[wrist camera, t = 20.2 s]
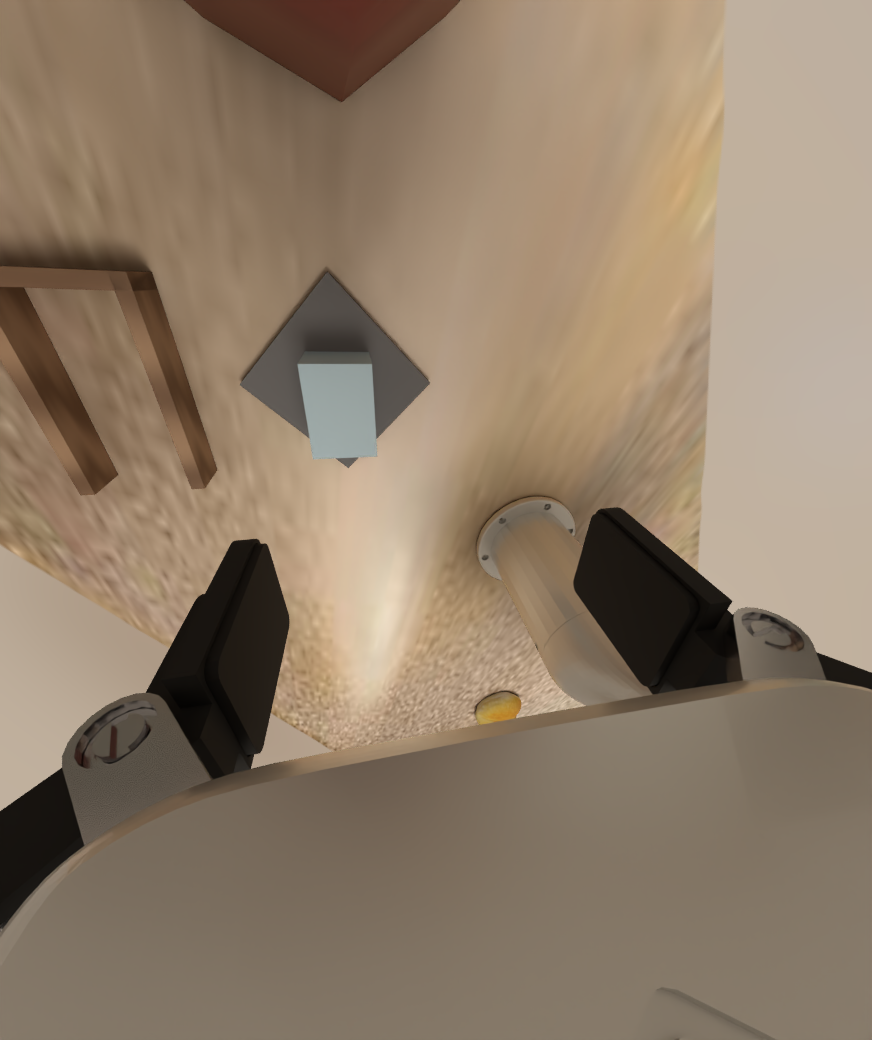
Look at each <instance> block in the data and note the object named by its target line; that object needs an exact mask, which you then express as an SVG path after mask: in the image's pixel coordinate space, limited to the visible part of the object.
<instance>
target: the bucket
mask: <svg viewBox="0 0 872 1040" xmlns="http://www.w3.org/2000/svg"><path fill="white" fill-rule="evenodd" d="M184 1H185V2H186V3H188V4H189V5H190V6H191V7H192V8H193V9H194V10H195V11H197V12H198V13H199V14H200V15H201V16H202V17H203V18H205V19H207V20H208V21H210V22H212V23H213V24H215V25H216V26H218V27H220V28H221V29H223V30H225V31H226V32H228V33H230V34H231V35H233V36H234V37H236V38H238V39H239V40H241V41H243V42H244V43H246V44H248V45H249V46H251V47H252V48H254V49H256V50H257V51H259V52H261V53H262V54H264V55H265V56H267V57H269V58H270V59H272V60H274V61H275V62H277V63H279V64H280V65H282V66H283V67H285V68H287V69H288V70H290V71H292V72H293V73H295V74H297V75H298V76H300V77H301V78H303V79H305V80H306V81H308V82H310V83H311V84H313V85H315V86H316V87H318V88H319V89H321V90H323V91H324V92H326V93H328V94H329V95H331V96H333V97H334V98H336V99H337V100H339V101H341V102H342V101H344V100H345V99H346V98H347V97H348V96H350V95H351V94H352V93H353V92H354V91H356V90H357V89H358V88H359V87H361V86H362V85H363V84H364V83H365V82H367V81H368V80H369V79H370V78H371V77H373V76H374V75H375V74H376V73H377V72H379V71H380V70H381V69H382V68H383V67H385V66H386V65H387V64H388V63H390V62H391V61H392V60H393V59H394V58H396V57H397V56H398V55H399V54H400V53H402V52H403V51H404V50H405V49H406V48H408V47H409V46H410V45H411V44H413V43H414V42H415V41H416V40H417V39H419V38H420V37H421V36H422V35H423V34H425V33H426V32H427V31H428V30H429V29H431V28H432V27H433V26H434V25H436V24H437V23H438V22H439V21H440V20H442V19H443V18H444V17H445V16H446V15H447V14H448V13H449V12H450V11H451V10H452V9H453V8H454V7H455V6H456V5H457V3H458V2H459V1H460V0H184Z"/></svg>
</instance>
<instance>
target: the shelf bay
mask: <svg viewBox="0 0 872 1040" xmlns="http://www.w3.org/2000/svg"><path fill="white" fill-rule="evenodd" d="M23 287H26V288H55V289H85V290H114V291H115V293H116V295H117V298H118V300H119V303H120V305H121V308H122V311H123V313H124V316H125V318H126V321H127V324H128V326H129V329H130V331H131V334H132V336H133V339H134V342H135V344H136V347H137V349H138V352H139V354H140V357H141V360H142V362H143V365H144V367H145V370H146V373H147V375H148V378H149V380H150V383H151V385H152V388H153V391H154V393H155V396H156V398H157V401H158V403H159V406H160V409H161V411H162V414H163V416H164V419H165V422H166V424H167V427H168V429H169V432H170V434H171V437H172V440H173V442H174V445H175V447H176V450H177V452H178V455H179V458H180V460H181V463H182V465H183V468H184V471H185V473H186V476H187V478H188V481H189V483H190V486H191V489H203V488H205V487H206V486H207V485H208V483H209V482H210V480H211V479H212V477H213V476H214V474H215V473H216V471H217V468H216V465H215V462H214V459H213V456H212V453H211V450H210V447H209V444H208V441H207V438H206V435H205V431H204V428H203V425H202V422H201V419H200V416H199V413H198V410H197V407H196V404H195V401H194V398H193V395H192V392H191V389H190V386H189V383H188V380H187V377H186V374H185V371H184V368H183V365H182V362H181V359H180V356H179V353H178V350H177V347H176V344H175V341H174V338H173V335H172V332H171V329H170V326H169V323H168V320H167V317H166V314H165V311H164V308H163V305H162V302H161V299H160V296H159V293H158V290H157V287H156V284H155V281H154V278H153V275H152V272H135V271H112V270H89V269H65V268H42V267H19V266H0V360H1V361H2V363H3V365H4V366H5V368H6V370H7V371H8V373H9V375H10V377H11V378H12V380H13V382H14V383H15V385H16V387H17V388H18V390H19V392H20V393H21V395H22V397H23V399H24V400H25V402H26V404H27V405H28V407H29V409H30V410H31V412H32V414H33V416H34V417H35V419H36V421H37V422H38V424H39V426H40V427H41V429H42V431H43V432H44V434H45V436H46V438H47V439H48V441H49V443H50V444H51V446H52V448H53V449H54V451H55V453H56V454H57V456H58V458H59V460H60V461H61V463H62V465H63V466H64V468H65V470H66V471H67V473H68V475H69V477H70V478H71V480H72V482H73V483H74V485H75V487H76V488H77V490H78V492H79V493H80V495H95V494H96V493H98V492H99V491H100V490H101V489H102V488H103V487H105V486H106V485H107V484H108V483H109V482H110V481H112V480H113V479H114V478H115V477H116V476H117V475H118V474H117V472H116V470H115V468H114V466H113V464H112V462H111V460H110V458H109V456H108V454H107V452H106V450H105V448H104V446H103V444H102V442H101V440H100V438H99V436H98V434H97V432H96V430H95V428H94V426H93V424H92V422H91V420H90V418H89V416H88V414H87V412H86V410H85V408H84V406H83V405H82V403H81V401H80V399H79V397H78V395H77V393H76V391H75V389H74V387H73V385H72V383H71V381H70V379H69V377H68V375H67V373H66V371H65V369H64V367H63V365H62V363H61V361H60V359H59V357H58V355H57V353H56V351H55V349H54V347H53V345H52V343H51V341H50V339H49V337H48V335H47V333H46V331H45V329H44V327H43V325H42V323H41V321H40V319H39V317H38V315H37V313H36V311H35V309H34V307H33V305H32V304H31V302H30V300H29V298H28V296H27V294H26V292H25V290H24V288H23Z"/></svg>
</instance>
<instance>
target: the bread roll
mask: <svg viewBox="0 0 872 1040" xmlns="http://www.w3.org/2000/svg"><path fill="white" fill-rule="evenodd" d="M520 709H521V700H520V698H519V697H518V696H516V695H514V694H512V693H509V692H499V693H496V694H493V695H491V696H489V697H487V698H485V699H484V700H482V701H481V702H480V703H479V705H478V706H477V711H476V713H475V717H476V720H477V722H478V724H479V725H481V724H487V723H493V722H498V721H504V720H510V719H515V718H516V715H517V714H518V713H519V711H520Z"/></svg>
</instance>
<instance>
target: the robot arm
mask: <svg viewBox="0 0 872 1040" xmlns="http://www.w3.org/2000/svg"><path fill="white" fill-rule="evenodd" d="M574 536H575V522H574V519H573V516H572V515H571V513H570V512H569V510H568V509H567V508H566V507H565V506H564V505H563V504H561V503H560V502H558V501H557V500H554V499H551V498H548V497H528V498H524V499H520V500H517V501H515V502H512V503H510V504H508V505H507V506H505V507H503V508H501V509H500V510H499V511H498V512H496V513H495V514H494V515H493V516H492V517H491V518H490V519H489V520H488V521H487V522H486V524H485V525H484V527H483V528H482V530H481V532H480V535H479V537H478V541H477V556H478V560H479V562H480V564H481V566H482V568H483V569H484V570H485V572H486V573H487V574H489V575H490V576H491V577H493V578H496V579H498V580H502V581H503V582H504V584H505V586H506V588H507V590H508V592H509V594H510V596H511V598H512V600H513V602H514V604H515V606H516V608H517V610H518V612H519V614H520V616H521V618H522V620H523V622H524V624H525V626H526V628H527V630H528V632H529V634H530V636H531V638H532V640H533V642H534V644H535V646H536V648H537V650H538V652H539V654H540V656H541V658H542V660H543V662H544V664H545V666H546V668H547V670H548V672H549V674H550V676H551V677H552V679H553V680H554V682H555V683H556V684H557V685H558V687H559V688H560V689H561V690H562V691H564V692H565V693H566V694H567V695H568V696H570V697H571V698H573V699H574V700H576V701H578V702H580V703H582V704H583V705H586V706H584V707H578V708H572V709H566V710H561V711H555V712H549V713H544V714H538V715H532V716H526V717H521V718H515V719H510V720H504V721H498V722H493V723H487V724H481V725H476V726H470V727H464V728H459V729H453V730H448V731H442V732H437V733H431V734H426V735H420V736H415V737H409V738H404V739H398V740H393V741H387V742H382V743H376V744H371V745H365V746H360V747H354V748H349V749H344V750H339V751H334V752H329V753H324V754H319V755H314V756H309V757H304V758H299V759H294V760H289V761H284V762H279V763H273V764H269V765H266V766H261V767H257V768H253V769H251V766H252V761H253V757H254V754H258V753H260V752H261V751H262V748H263V745H264V741H265V736H266V731H267V727H268V723H269V718H270V713H271V709H272V704H273V699H274V695H275V690H276V686H277V681H278V676H279V672H280V667H281V662H282V658H283V653H284V649H285V644H286V639H287V635H288V630H289V614H288V611H287V607H286V604H285V601H284V597H283V594H282V591H281V587H280V584H279V581H278V577H277V574H276V571H275V567H274V564H273V561H272V557H271V554H270V551H269V548H268V545H267V544H261V543H260V541H259V540H258V539H249V540H238V541H233V542H232V543H231V545H230V547H229V549H228V551H227V553H226V555H225V557H224V558H223V560H222V562H221V564H220V566H219V568H218V570H217V572H216V574H215V576H214V578H213V580H212V582H211V584H210V585H209V587H208V589H207V591H206V593H205V594H202V595H200V596H199V597H198V598H197V599H196V601H195V602H194V604H193V606H192V608H191V610H190V611H189V613H188V615H187V617H186V619H185V621H184V623H183V624H182V626H181V628H180V630H179V632H178V634H177V636H176V637H175V639H174V641H173V643H172V645H171V647H170V649H169V650H168V652H167V654H166V656H165V658H164V660H163V662H162V664H161V665H160V667H159V669H158V671H157V673H156V675H155V677H154V678H153V680H152V682H151V684H150V686H149V688H148V689H147V691H146V693H139V694H133V695H130V696H127V697H124V698H121V699H119V700H117V701H115V702H113V703H111V704H109V705H107V706H105V707H104V708H102V709H101V710H99V711H98V712H97V713H95V714H94V715H92V716H91V717H90V718H89V719H88V720H87V721H86V722H85V723H84V724H83V725H82V726H80V727H79V728H78V730H77V731H76V733H75V734H74V735H73V736H72V738H71V739H70V741H69V742H68V744H67V746H66V748H65V751H64V753H63V756H62V768H61V769H60V770H58V771H57V772H55V773H54V774H53V775H51V776H50V777H48V778H47V779H46V780H44V781H42V782H41V783H40V784H38V785H37V786H35V787H34V788H33V789H31V790H30V791H28V792H27V793H25V794H24V795H23V796H21V797H20V798H18V799H17V800H15V801H14V802H13V803H11V804H10V805H8V806H7V807H6V808H4V809H3V810H1V811H0V1040H872V673H871V672H868V671H865V670H863V669H860V668H857V667H855V666H852V665H849V664H846V663H844V662H841V661H838V660H835V659H833V658H830V657H828V656H825V655H822V654H819V653H817V652H816V650H815V648H814V645H813V643H812V641H811V640H810V638H809V637H808V636H807V635H806V634H805V633H804V632H803V631H802V630H801V629H800V628H799V627H797V626H796V625H795V624H793V623H792V622H790V621H789V620H787V619H785V618H783V617H781V616H779V615H777V614H774V613H772V612H769V611H766V610H762V609H758V608H747V607H746V608H741V609H738V610H737V611H736V612H735V613H734V614H733V615H732V614H731V613H730V612H729V611H728V610H727V609H728V607H729V605H730V604H731V603H732V601H731V600H730V599H729V598H728V597H727V596H726V595H725V594H723V593H722V592H721V591H720V590H718V589H717V588H716V587H715V586H714V585H712V584H711V583H710V582H709V581H708V580H706V579H705V578H704V577H703V576H702V575H700V574H699V573H698V572H697V571H696V570H695V569H693V568H692V567H691V566H690V565H689V564H687V563H686V562H685V561H684V560H683V559H681V558H680V557H679V556H678V555H677V554H675V553H674V552H673V551H672V550H671V549H669V548H668V547H667V546H666V545H665V544H664V543H662V542H661V541H660V540H659V539H658V538H656V537H655V536H654V535H653V534H652V533H650V532H649V531H648V530H647V529H646V528H644V527H643V526H642V525H641V524H640V523H638V522H637V521H636V520H635V519H634V518H632V517H631V516H630V515H629V514H628V513H626V512H625V511H624V510H623V509H621V508H606V509H600V510H598V511H597V512H596V514H594V515H593V516H592V518H591V521H590V524H589V528H588V531H587V535H586V538H585V542H584V545H583V547H582V546H581V545H580V544H579V543H578V541H577V540H576V539H575V538H574Z"/></svg>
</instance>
